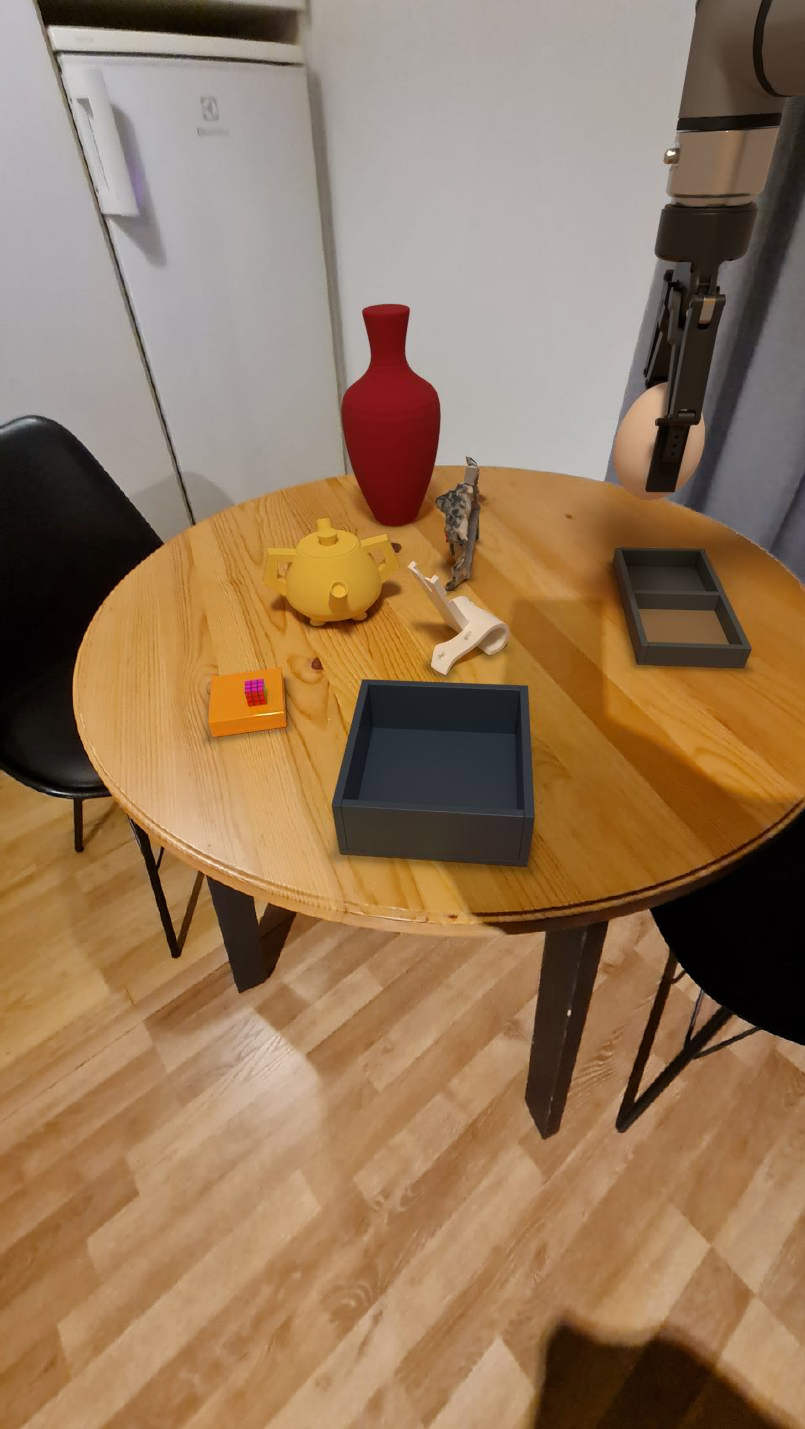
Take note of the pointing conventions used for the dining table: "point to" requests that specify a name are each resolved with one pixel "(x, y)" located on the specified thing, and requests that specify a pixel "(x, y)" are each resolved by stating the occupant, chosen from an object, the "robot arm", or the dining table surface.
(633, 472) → the egg
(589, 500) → the dining table surface
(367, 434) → the vase
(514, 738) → the tub
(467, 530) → the grey mottled flat piece
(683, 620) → the tray
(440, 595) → the plastic part
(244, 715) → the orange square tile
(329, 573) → the teapot
